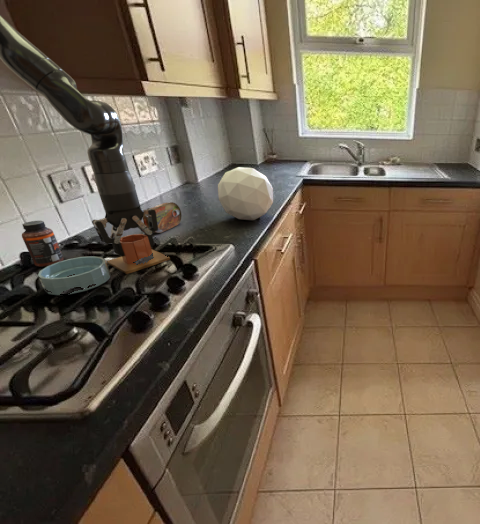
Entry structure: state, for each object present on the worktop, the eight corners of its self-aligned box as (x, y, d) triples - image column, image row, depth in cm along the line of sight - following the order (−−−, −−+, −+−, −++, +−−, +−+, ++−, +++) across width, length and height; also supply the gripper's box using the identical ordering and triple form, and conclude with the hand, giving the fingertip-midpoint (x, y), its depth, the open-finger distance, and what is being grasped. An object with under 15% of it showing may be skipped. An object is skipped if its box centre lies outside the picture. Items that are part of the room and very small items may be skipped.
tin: (154, 236, 107) (146, 211, 104) (145, 235, 108) (138, 210, 104) (184, 222, 121) (179, 199, 117) (176, 221, 121) (171, 199, 118)
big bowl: (57, 302, 71) (49, 284, 69) (38, 286, 77) (30, 269, 75) (119, 281, 80) (114, 264, 78) (98, 268, 86) (93, 252, 84)
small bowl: (131, 266, 86) (124, 244, 83) (120, 260, 89) (113, 239, 87) (157, 257, 91) (151, 237, 88) (145, 252, 94) (139, 232, 91)
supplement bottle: (66, 262, 89) (50, 222, 84) (36, 269, 85) (17, 228, 80) (62, 256, 92) (46, 217, 88) (33, 263, 88) (15, 222, 84)
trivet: (126, 274, 83) (125, 271, 83) (107, 263, 89) (106, 260, 89) (170, 259, 92) (169, 257, 91) (150, 250, 97) (149, 248, 97)
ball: (263, 236, 128) (274, 203, 113) (208, 221, 121) (212, 183, 107) (272, 202, 139) (283, 167, 124) (222, 186, 132) (227, 147, 118)
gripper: (141, 183, 89) (156, 240, 96) (75, 193, 78) (99, 257, 85) (155, 186, 86) (170, 246, 93) (88, 197, 75) (112, 264, 82)
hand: (136, 251), depth 89 cm, fingers closed on small bowl, 6 cm apart
